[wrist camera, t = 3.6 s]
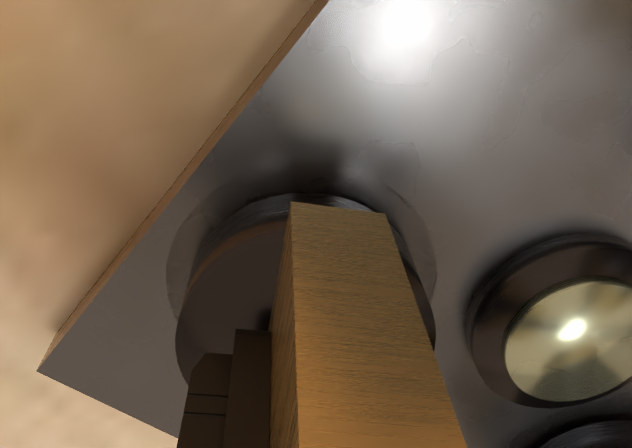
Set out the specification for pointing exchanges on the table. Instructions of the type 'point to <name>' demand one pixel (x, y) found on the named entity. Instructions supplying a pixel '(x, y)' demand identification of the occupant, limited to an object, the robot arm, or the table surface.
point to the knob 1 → (323, 323)
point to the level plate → (420, 204)
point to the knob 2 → (595, 436)
